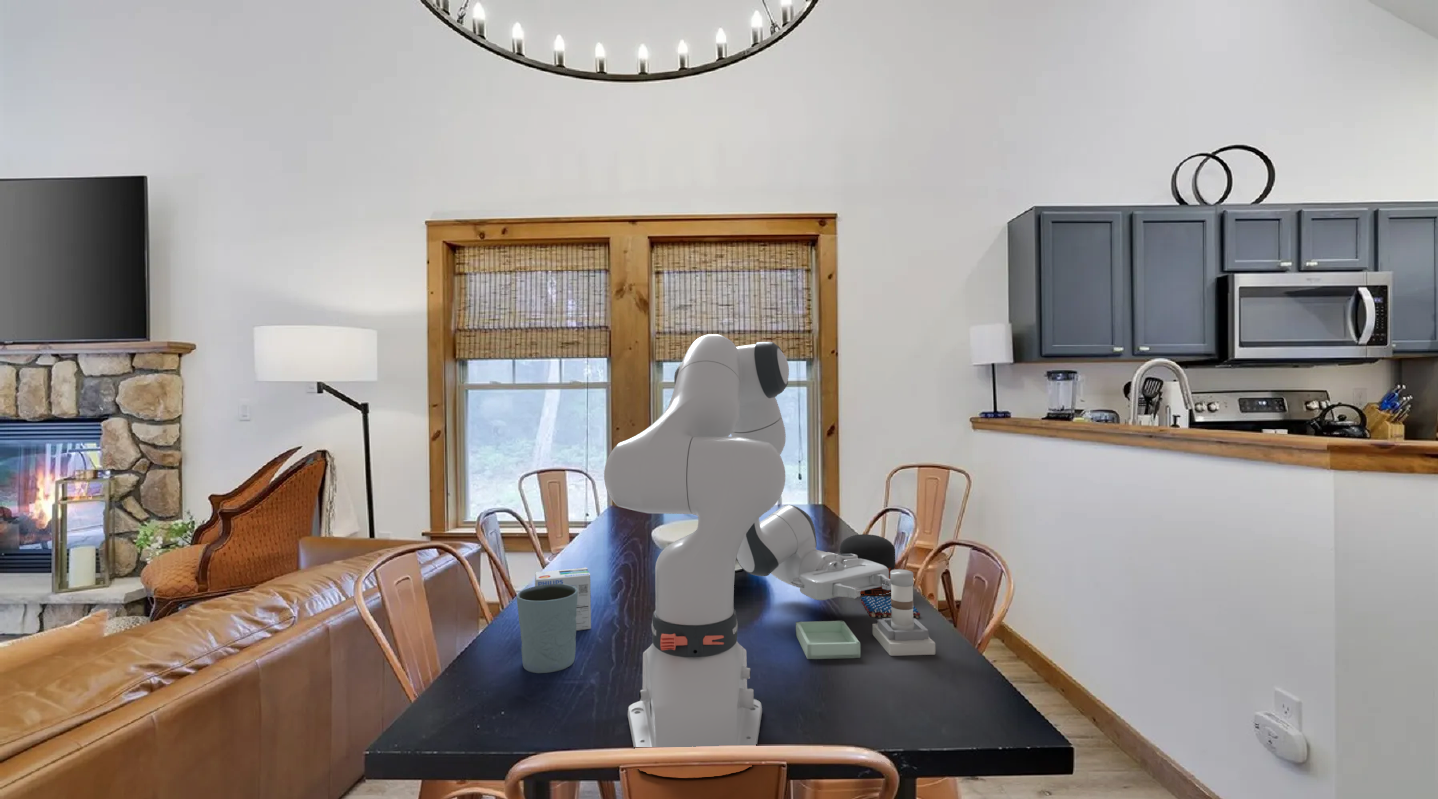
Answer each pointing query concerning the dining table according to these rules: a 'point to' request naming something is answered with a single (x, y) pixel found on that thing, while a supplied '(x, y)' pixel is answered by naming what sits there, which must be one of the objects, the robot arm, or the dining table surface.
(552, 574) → the light bulb box
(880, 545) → the oil filter
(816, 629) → the tray
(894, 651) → the block
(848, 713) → the dining table surface
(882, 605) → the woven mat
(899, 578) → the cylinder
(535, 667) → the green cup
